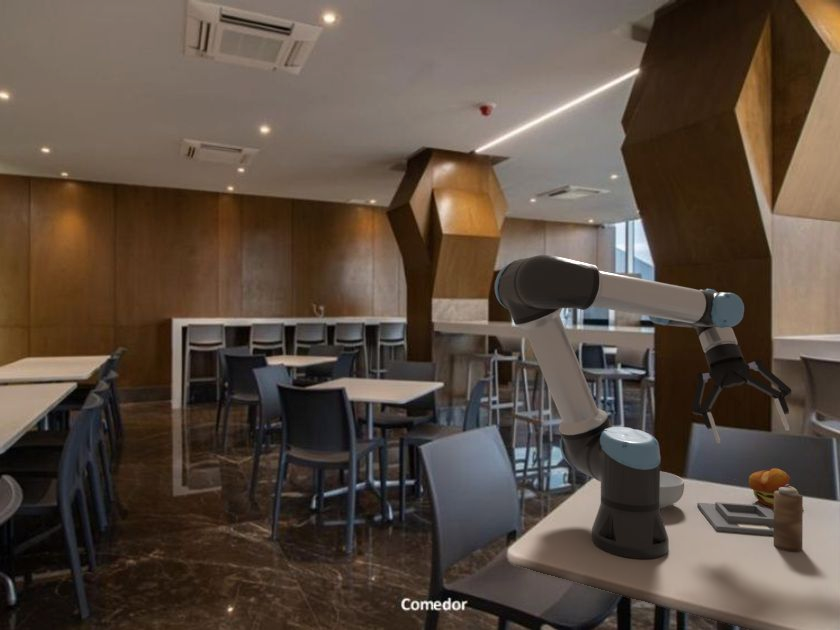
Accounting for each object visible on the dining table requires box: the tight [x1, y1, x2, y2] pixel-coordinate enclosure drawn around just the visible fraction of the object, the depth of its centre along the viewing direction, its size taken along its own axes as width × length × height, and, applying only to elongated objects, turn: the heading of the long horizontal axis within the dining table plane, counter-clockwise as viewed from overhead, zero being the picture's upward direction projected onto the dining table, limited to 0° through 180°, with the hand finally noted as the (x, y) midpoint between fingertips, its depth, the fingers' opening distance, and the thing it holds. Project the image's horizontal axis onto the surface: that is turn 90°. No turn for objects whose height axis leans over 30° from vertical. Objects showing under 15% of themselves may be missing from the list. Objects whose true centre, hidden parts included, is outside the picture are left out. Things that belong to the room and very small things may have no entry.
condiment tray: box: [697, 501, 774, 537], centre depth 130 cm, size 16×16×2 cm
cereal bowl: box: [659, 470, 685, 510], centre depth 141 cm, size 17×17×7 cm
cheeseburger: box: [748, 467, 799, 508], centre depth 141 cm, size 10×11×10 cm
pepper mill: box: [773, 487, 804, 553], centre depth 115 cm, size 5×5×12 cm
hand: (752, 435), depth 121 cm, fingers open, 13 cm apart
